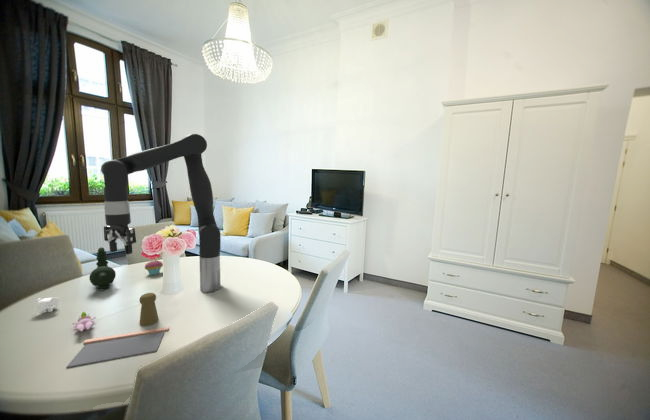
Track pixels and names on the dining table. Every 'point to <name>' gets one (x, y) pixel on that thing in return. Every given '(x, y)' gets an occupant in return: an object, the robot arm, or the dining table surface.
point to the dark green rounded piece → (102, 272)
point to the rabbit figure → (84, 322)
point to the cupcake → (154, 267)
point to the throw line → (125, 335)
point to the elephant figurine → (47, 304)
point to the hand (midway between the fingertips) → (121, 252)
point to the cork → (148, 309)
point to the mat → (116, 349)
